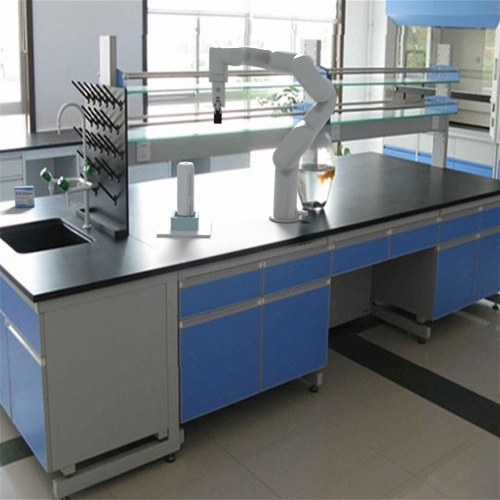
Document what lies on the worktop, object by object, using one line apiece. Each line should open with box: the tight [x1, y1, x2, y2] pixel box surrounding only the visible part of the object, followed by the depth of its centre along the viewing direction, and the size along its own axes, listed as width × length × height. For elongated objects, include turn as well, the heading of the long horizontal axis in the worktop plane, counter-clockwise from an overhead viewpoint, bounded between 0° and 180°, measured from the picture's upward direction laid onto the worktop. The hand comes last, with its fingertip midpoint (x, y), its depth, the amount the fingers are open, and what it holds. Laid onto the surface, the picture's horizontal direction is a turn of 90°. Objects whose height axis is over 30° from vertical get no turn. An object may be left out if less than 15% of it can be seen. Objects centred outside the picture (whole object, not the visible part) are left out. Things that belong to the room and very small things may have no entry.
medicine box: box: [13, 185, 36, 209], centre depth 304 cm, size 8×4×9 cm, turn 105°
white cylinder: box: [176, 161, 195, 217], centre depth 276 cm, size 6×6×25 cm
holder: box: [156, 210, 212, 238], centre depth 279 cm, size 20×20×6 cm
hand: (217, 121), depth 290 cm, fingers open, 9 cm apart
